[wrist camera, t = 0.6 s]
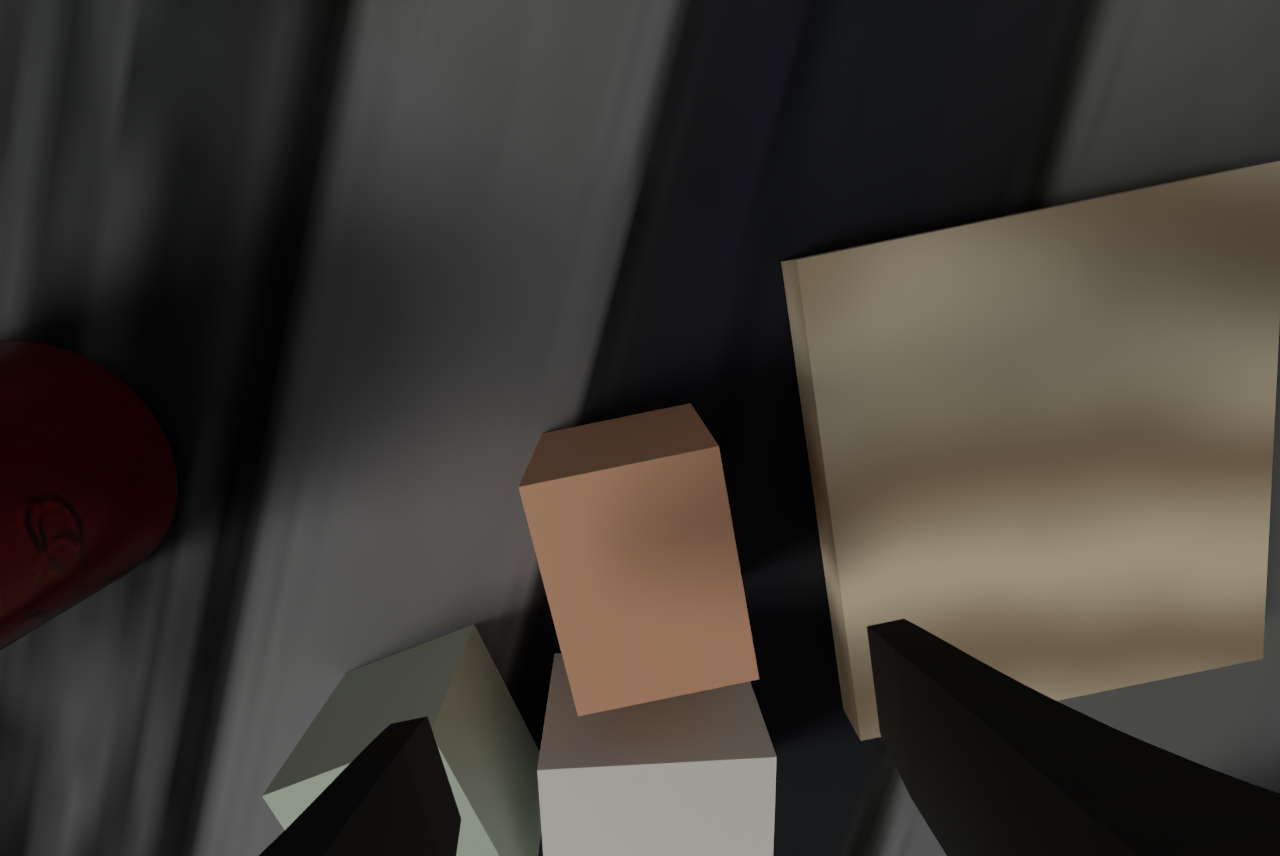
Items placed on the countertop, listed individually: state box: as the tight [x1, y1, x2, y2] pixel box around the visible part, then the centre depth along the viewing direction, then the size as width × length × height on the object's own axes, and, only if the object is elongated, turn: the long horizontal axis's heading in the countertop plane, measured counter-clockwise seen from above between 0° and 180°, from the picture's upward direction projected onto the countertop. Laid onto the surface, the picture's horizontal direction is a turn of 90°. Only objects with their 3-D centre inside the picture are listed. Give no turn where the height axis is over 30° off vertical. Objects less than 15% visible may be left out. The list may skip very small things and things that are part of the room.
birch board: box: [781, 161, 1280, 741], centre depth 18 cm, size 15×13×2 cm
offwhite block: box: [537, 653, 777, 856], centre depth 18 cm, size 6×4×5 cm
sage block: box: [262, 624, 541, 856], centre depth 18 cm, size 6×4×5 cm
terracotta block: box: [519, 403, 759, 716], centre depth 17 cm, size 6×4×5 cm
